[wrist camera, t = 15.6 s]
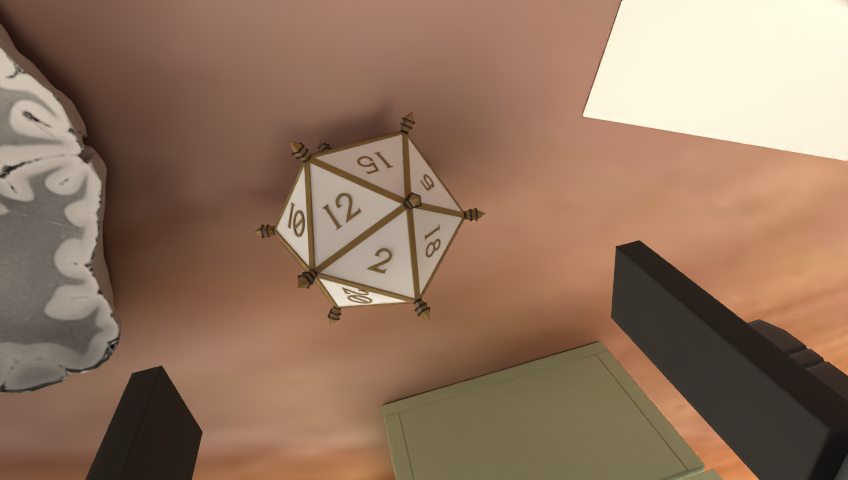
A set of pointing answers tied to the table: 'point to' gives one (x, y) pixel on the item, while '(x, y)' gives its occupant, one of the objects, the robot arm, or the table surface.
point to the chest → (539, 426)
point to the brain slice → (49, 235)
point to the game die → (369, 222)
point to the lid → (706, 476)
